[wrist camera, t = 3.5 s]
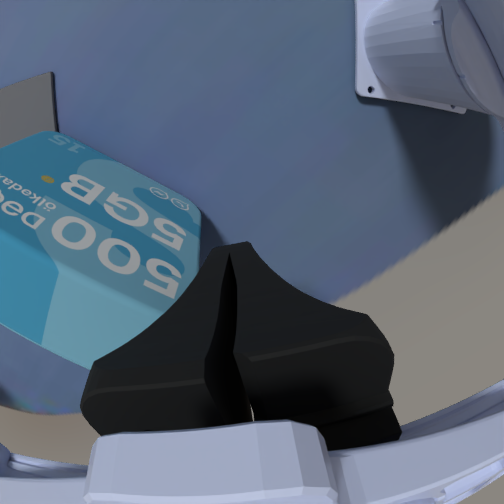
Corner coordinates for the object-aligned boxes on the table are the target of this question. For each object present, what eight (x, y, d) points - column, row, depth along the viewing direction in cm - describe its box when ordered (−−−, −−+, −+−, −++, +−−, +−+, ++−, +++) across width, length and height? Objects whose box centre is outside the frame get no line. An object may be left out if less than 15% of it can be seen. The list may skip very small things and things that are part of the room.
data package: (203, 205, 21) (200, 332, 11) (172, 257, 23) (152, 396, 12) (51, 126, 17) (-74, 183, 7) (31, 183, 19) (-76, 274, 8)
